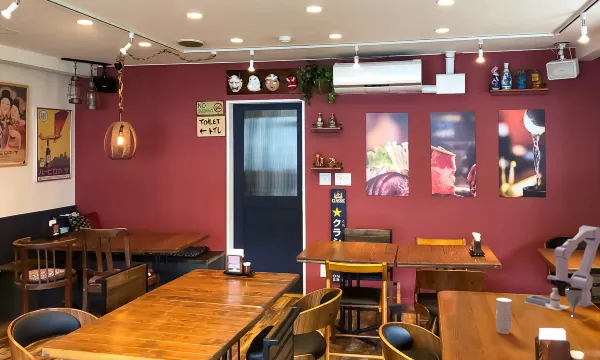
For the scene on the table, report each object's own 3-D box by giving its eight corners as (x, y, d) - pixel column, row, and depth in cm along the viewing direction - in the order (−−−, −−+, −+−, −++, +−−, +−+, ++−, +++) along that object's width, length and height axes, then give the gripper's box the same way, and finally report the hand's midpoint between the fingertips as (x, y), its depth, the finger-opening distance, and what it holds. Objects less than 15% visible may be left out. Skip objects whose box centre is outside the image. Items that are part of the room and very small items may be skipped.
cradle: (535, 299, 295) (535, 294, 295) (570, 308, 279) (570, 302, 279) (523, 303, 288) (523, 297, 288) (559, 311, 272) (559, 306, 272)
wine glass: (584, 321, 257) (585, 291, 256) (567, 319, 258) (568, 290, 258) (579, 316, 265) (580, 287, 264) (562, 315, 266) (563, 286, 265)
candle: (509, 335, 235) (510, 302, 235) (493, 332, 239) (494, 300, 238) (512, 331, 241) (513, 299, 240) (497, 328, 245) (497, 296, 244)
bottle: (552, 304, 283) (553, 287, 283) (561, 306, 280) (561, 289, 279) (548, 306, 280) (549, 288, 280) (557, 308, 277) (557, 290, 276)
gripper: (544, 268, 280) (544, 293, 281) (572, 273, 268) (571, 298, 269) (551, 266, 284) (550, 291, 285) (578, 271, 273) (577, 296, 273)
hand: (561, 294), depth 277 cm, fingers closed
